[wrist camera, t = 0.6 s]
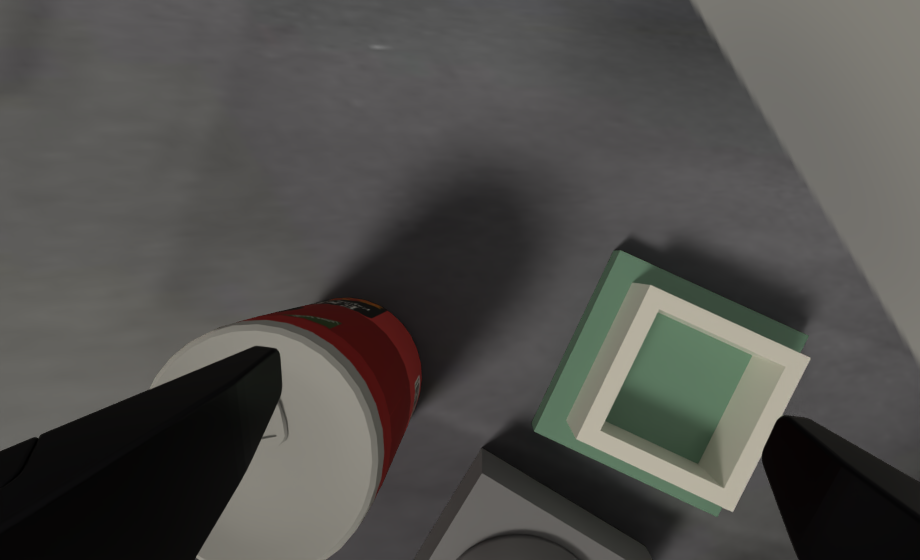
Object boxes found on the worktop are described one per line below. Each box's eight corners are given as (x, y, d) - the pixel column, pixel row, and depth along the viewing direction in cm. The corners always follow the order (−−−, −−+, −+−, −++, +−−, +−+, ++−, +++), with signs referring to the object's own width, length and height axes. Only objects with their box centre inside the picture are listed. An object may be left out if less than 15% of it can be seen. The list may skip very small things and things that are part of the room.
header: (705, 504, 25) (745, 547, 21) (531, 423, 25) (540, 451, 21) (792, 332, 24) (849, 344, 20) (613, 250, 24) (637, 248, 21)
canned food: (386, 272, 25) (311, 281, 14) (449, 409, 25) (424, 523, 14) (258, 331, 25) (87, 385, 14) (321, 465, 25) (199, 620, 14)
